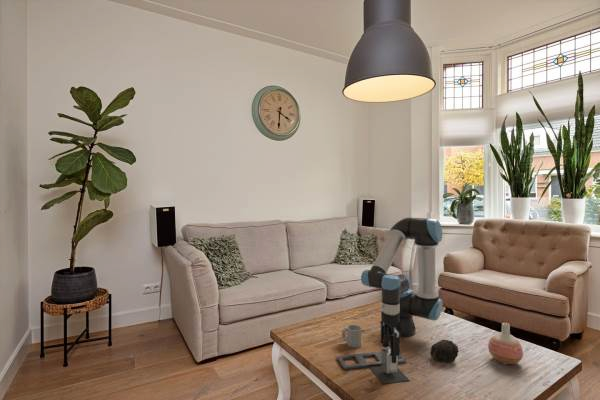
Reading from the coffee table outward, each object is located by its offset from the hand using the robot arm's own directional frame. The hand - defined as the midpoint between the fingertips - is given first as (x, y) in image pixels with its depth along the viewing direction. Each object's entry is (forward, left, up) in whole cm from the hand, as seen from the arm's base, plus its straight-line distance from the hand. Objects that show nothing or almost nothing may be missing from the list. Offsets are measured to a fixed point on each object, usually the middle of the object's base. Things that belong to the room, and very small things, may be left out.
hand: (389, 365), depth 139 cm
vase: (-58, +1, -4) cm, 58 cm away
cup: (+6, -29, -4) cm, 30 cm away
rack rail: (+3, -12, -4) cm, 13 cm away
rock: (-31, -6, -4) cm, 32 cm away
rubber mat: (0, 0, -4) cm, 4 cm away
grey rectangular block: (0, 0, -2) cm, 2 cm away
